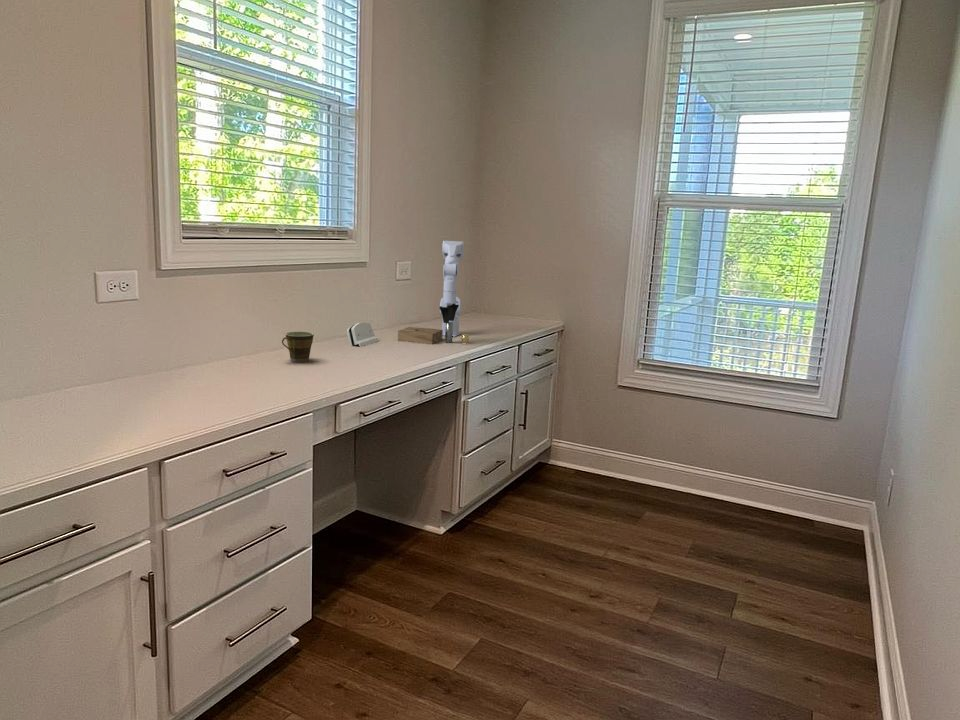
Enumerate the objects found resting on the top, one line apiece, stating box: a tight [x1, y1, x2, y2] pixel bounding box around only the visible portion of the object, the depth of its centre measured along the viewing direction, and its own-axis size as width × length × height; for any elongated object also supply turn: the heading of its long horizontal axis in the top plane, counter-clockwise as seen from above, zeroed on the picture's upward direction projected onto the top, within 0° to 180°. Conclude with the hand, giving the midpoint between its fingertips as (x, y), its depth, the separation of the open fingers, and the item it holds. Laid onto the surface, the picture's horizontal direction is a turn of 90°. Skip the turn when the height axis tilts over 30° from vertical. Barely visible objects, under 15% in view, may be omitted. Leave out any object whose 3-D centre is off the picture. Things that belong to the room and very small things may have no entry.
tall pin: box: [444, 322, 453, 344], centre depth 306 cm, size 3×3×9 cm
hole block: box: [397, 326, 443, 345], centre depth 309 cm, size 14×16×4 cm
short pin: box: [460, 333, 470, 345], centre depth 307 cm, size 3×3×4 cm
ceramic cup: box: [281, 331, 314, 363], centre depth 253 cm, size 13×10×10 cm
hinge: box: [346, 321, 379, 348], centre depth 295 cm, size 17×5×10 cm, turn 160°
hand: (448, 321), depth 305 cm, fingers open, 7 cm apart
